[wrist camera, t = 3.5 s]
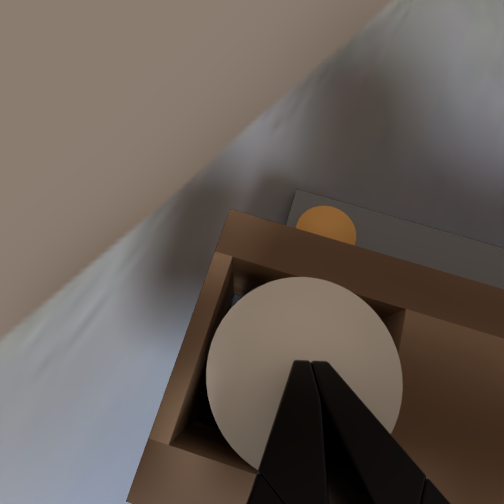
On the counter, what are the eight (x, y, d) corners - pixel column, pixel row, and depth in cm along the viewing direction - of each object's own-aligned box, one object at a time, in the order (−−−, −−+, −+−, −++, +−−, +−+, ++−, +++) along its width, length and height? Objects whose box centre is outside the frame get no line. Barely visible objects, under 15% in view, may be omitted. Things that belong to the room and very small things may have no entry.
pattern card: (624, 368, 17) (638, 367, 17) (274, 262, 19) (275, 258, 18) (623, 287, 19) (636, 284, 18) (295, 193, 20) (297, 187, 19)
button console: (681, 631, 14) (969, 798, 9) (166, 455, 16) (125, 501, 10) (669, 392, 17) (882, 400, 12) (232, 260, 19) (230, 208, 13)
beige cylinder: (324, 458, 14) (382, 515, 9) (201, 417, 15) (177, 445, 9) (351, 332, 16) (416, 307, 10) (240, 298, 16) (240, 254, 10)
